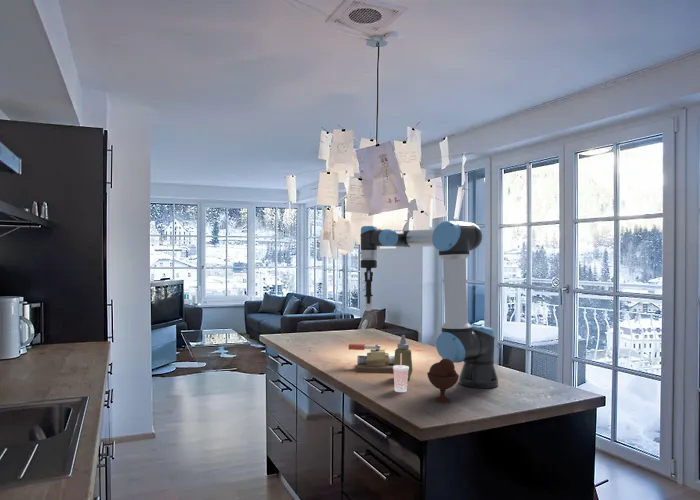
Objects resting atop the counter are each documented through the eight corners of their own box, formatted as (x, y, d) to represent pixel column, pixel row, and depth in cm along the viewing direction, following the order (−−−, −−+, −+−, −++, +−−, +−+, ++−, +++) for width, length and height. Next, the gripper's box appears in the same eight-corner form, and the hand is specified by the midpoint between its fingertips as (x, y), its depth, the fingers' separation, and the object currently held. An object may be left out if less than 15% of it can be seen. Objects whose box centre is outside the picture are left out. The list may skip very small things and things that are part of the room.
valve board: (398, 372, 222) (398, 354, 222) (357, 371, 223) (357, 353, 223) (396, 365, 236) (397, 348, 236) (357, 364, 237) (357, 347, 237)
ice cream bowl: (453, 396, 188) (454, 355, 188) (461, 405, 176) (462, 361, 176) (424, 396, 187) (425, 355, 187) (430, 405, 176) (431, 361, 176)
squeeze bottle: (396, 381, 207) (397, 337, 207) (390, 376, 215) (390, 333, 215) (415, 380, 209) (416, 336, 209) (408, 375, 217) (408, 333, 217)
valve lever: (380, 349, 231) (380, 344, 231) (380, 351, 228) (380, 345, 228) (349, 348, 233) (349, 343, 233) (348, 349, 230) (348, 344, 230)
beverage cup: (408, 393, 191) (408, 355, 191) (391, 392, 192) (392, 354, 192) (409, 388, 197) (409, 352, 197) (393, 387, 198) (393, 351, 198)
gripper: (360, 259, 244) (360, 309, 244) (360, 259, 231) (360, 312, 231) (376, 259, 244) (376, 309, 243) (377, 259, 231) (376, 312, 230)
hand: (368, 310), depth 237 cm, fingers closed
